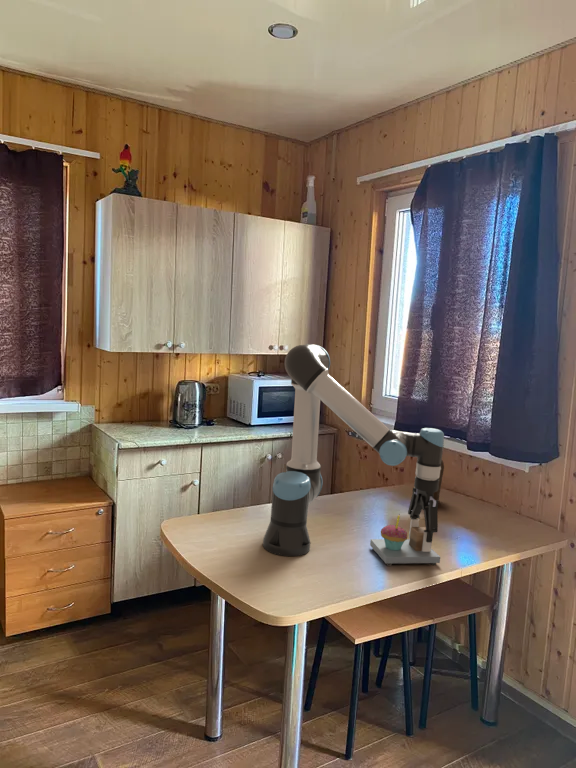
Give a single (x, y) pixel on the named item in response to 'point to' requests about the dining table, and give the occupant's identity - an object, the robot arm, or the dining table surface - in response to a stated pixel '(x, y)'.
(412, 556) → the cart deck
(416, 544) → the walnut block
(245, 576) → the dining table surface
